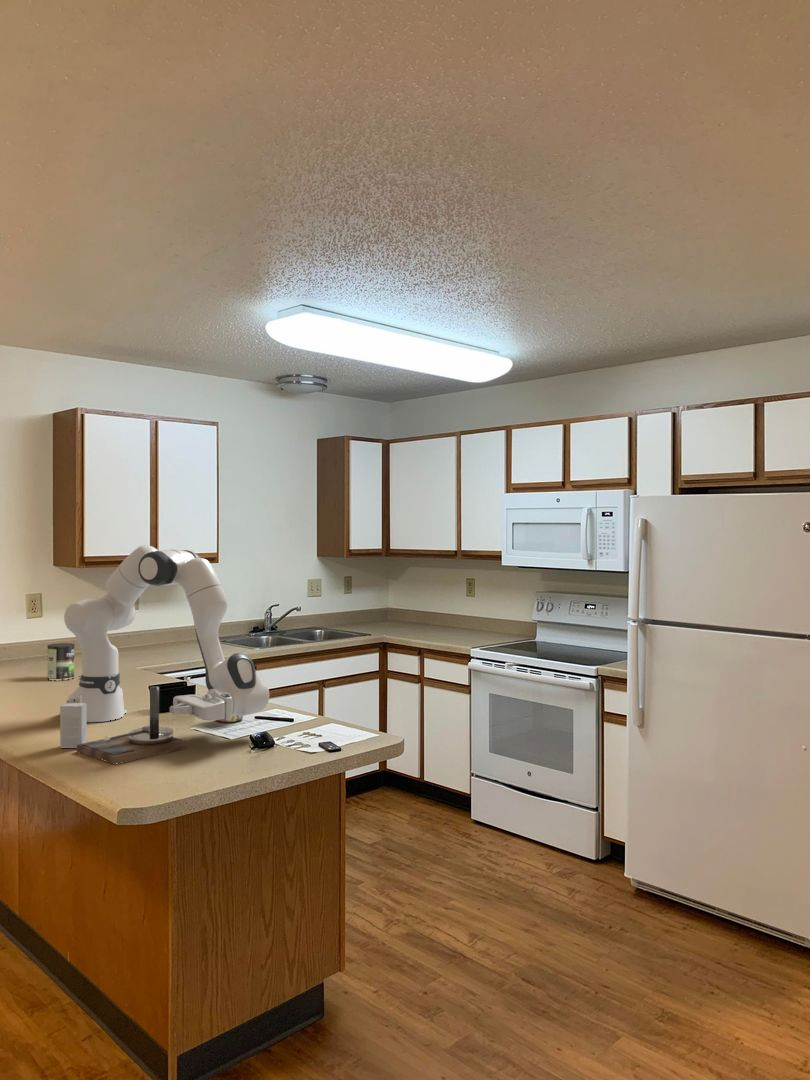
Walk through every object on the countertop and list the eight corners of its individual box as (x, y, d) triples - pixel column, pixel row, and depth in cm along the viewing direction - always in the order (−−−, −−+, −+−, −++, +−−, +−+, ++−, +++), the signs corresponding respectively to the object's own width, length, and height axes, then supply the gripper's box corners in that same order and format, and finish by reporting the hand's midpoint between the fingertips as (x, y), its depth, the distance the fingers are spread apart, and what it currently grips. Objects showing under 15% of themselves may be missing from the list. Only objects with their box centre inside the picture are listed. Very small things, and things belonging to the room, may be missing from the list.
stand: (76, 751, 221) (76, 743, 221) (147, 736, 238) (147, 728, 238) (115, 764, 209) (115, 755, 209) (185, 747, 226) (186, 739, 226)
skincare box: (87, 745, 228) (87, 702, 228) (81, 749, 224) (81, 706, 224) (65, 745, 228) (65, 702, 228) (59, 749, 224) (59, 706, 224)
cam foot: (94, 745, 219) (94, 687, 219) (155, 731, 235) (155, 676, 235) (125, 754, 211) (125, 693, 211) (186, 738, 227) (186, 682, 227)
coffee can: (78, 676, 335) (78, 643, 335) (67, 681, 325) (68, 646, 325) (54, 676, 335) (54, 642, 335) (42, 681, 325) (42, 646, 325)
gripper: (200, 687, 240) (156, 693, 231) (234, 698, 224) (188, 704, 215) (200, 708, 240) (156, 715, 231) (234, 720, 224) (188, 728, 215)
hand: (171, 710), depth 223 cm, fingers closed
